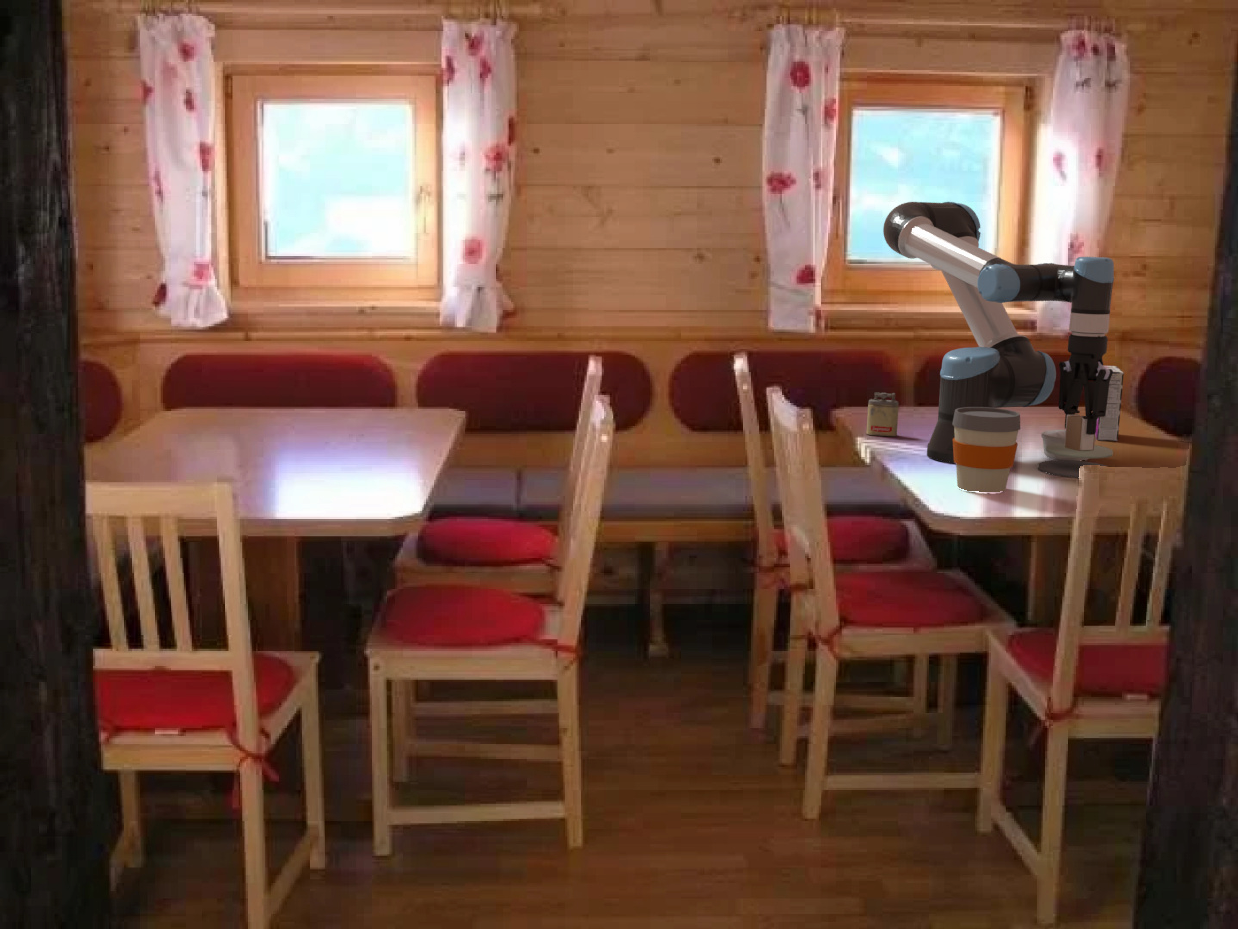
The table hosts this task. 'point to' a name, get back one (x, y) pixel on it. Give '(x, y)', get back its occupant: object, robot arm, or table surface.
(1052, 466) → the trivet
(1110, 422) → the candy bar box
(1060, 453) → the lid
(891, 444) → the table surface
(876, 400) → the lighter
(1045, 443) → the ramekin
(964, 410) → the reusable coffee cup
